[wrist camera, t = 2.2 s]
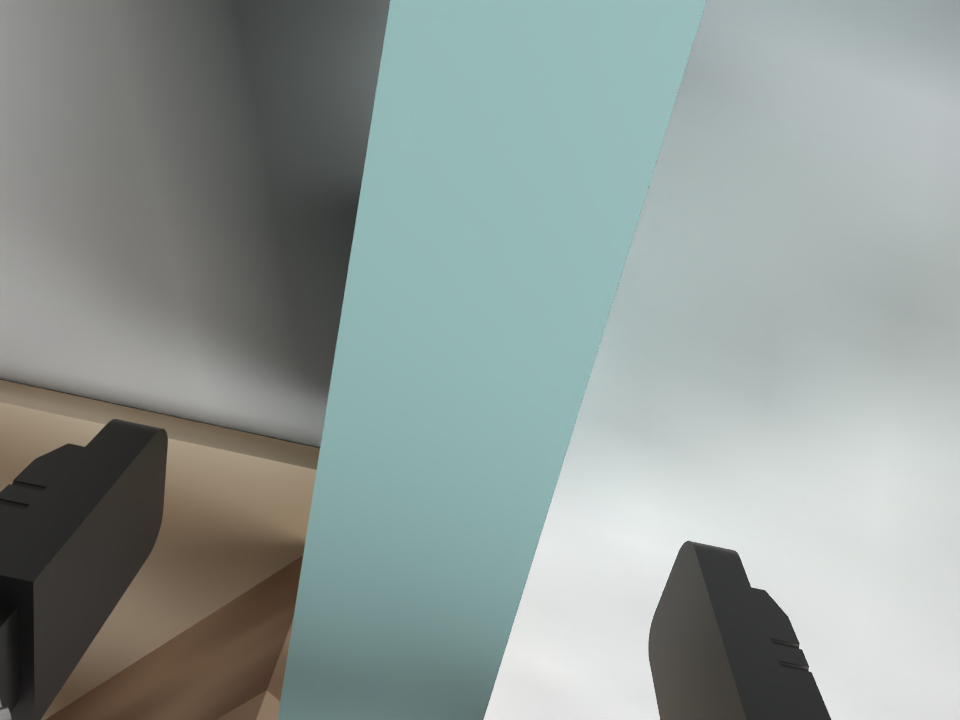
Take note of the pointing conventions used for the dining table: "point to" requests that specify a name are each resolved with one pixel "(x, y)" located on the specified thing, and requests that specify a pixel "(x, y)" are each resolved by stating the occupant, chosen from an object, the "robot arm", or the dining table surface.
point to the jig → (186, 566)
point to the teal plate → (470, 334)
